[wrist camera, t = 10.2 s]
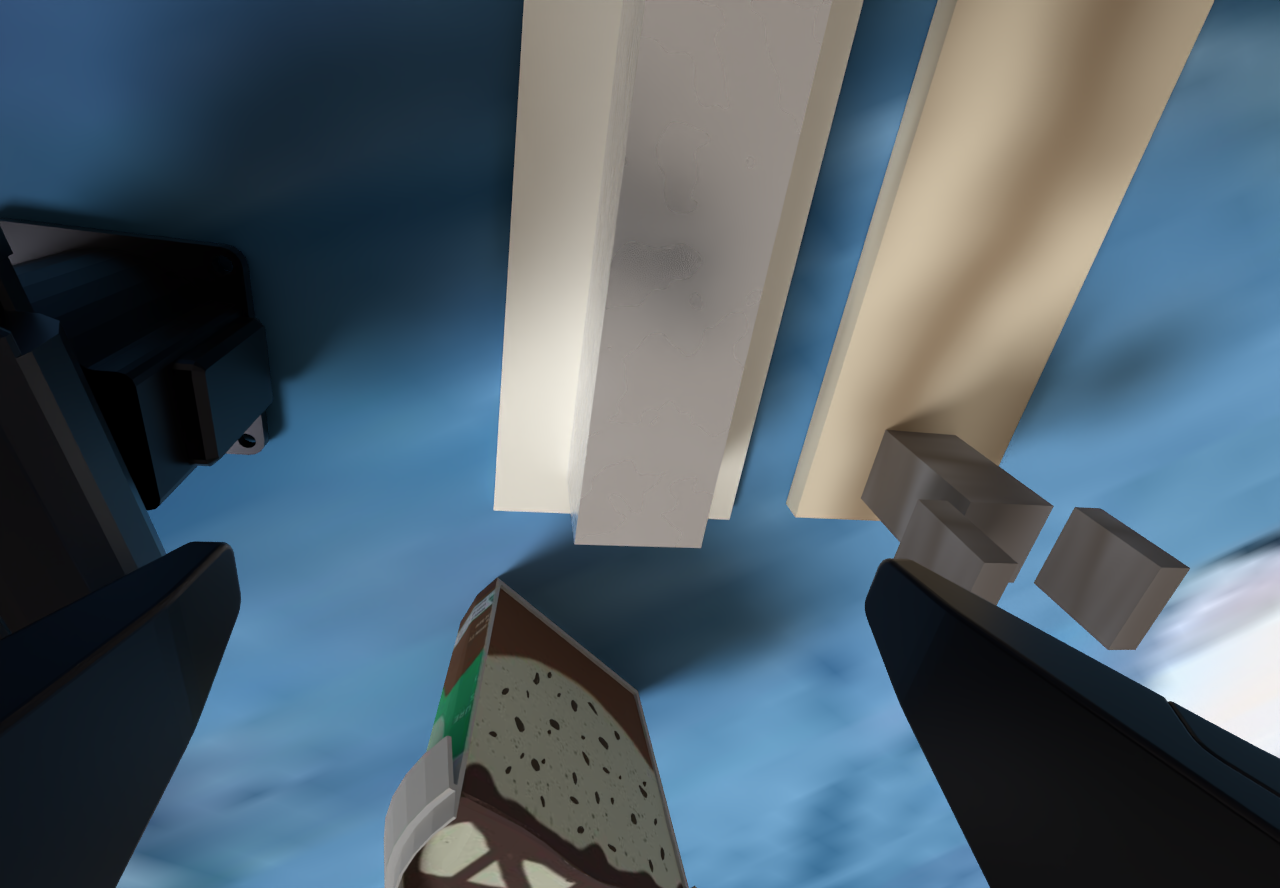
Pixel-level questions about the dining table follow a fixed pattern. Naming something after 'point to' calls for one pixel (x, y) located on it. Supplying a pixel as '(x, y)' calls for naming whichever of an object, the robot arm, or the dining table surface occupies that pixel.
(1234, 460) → the dining table surface
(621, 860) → the food container
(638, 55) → the rail
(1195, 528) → the dining table surface
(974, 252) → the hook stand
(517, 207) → the board
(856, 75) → the dining table surface
